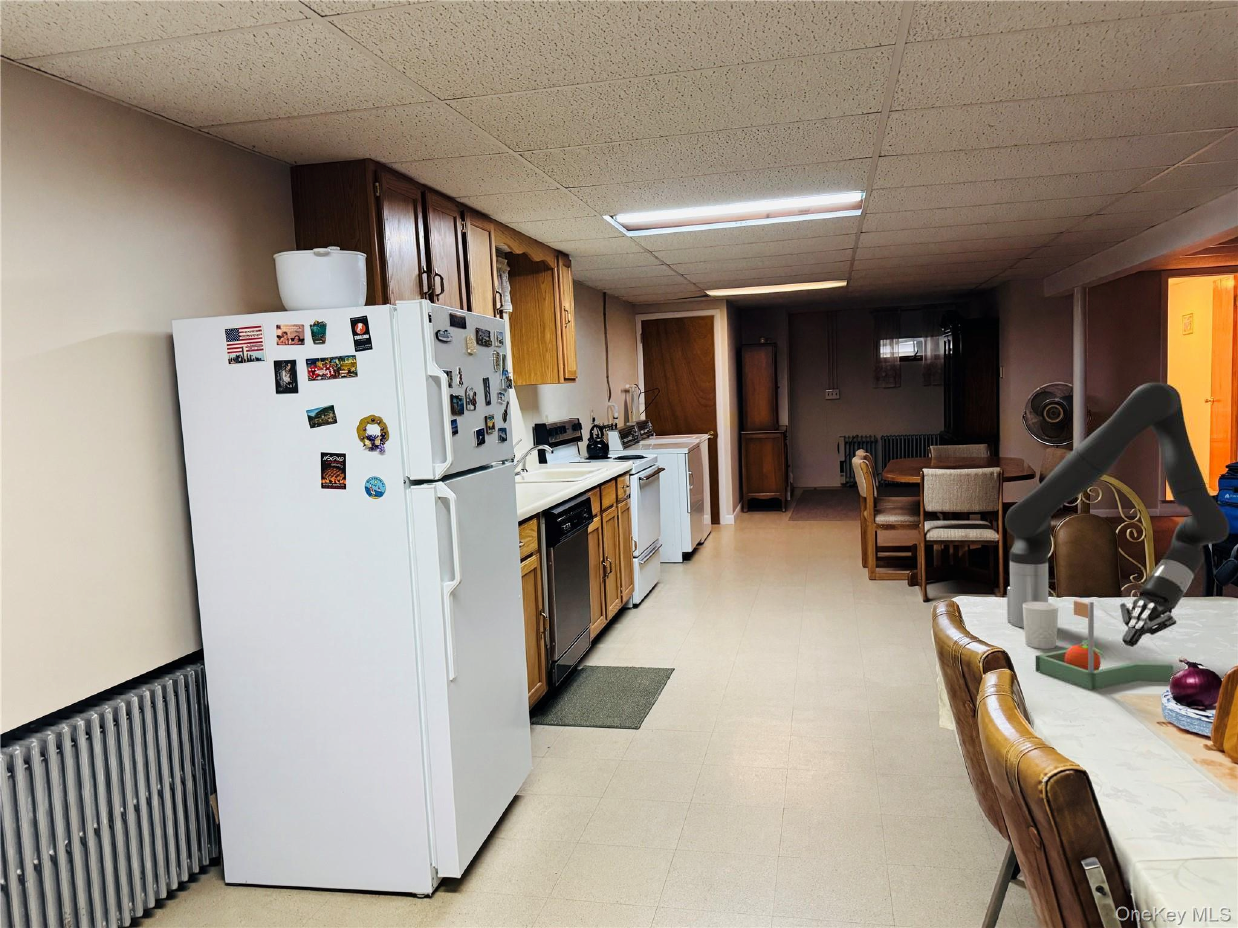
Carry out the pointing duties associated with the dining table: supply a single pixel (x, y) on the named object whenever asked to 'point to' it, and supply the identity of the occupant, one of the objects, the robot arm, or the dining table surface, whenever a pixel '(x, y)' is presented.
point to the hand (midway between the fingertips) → (1127, 644)
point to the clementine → (1082, 657)
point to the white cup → (1040, 624)
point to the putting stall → (1090, 678)
